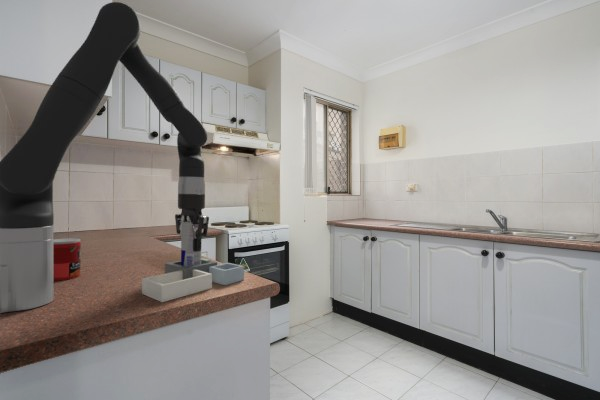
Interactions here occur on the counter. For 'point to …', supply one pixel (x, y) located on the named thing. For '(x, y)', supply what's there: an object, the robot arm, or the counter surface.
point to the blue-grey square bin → (227, 273)
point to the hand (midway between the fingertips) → (191, 249)
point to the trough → (175, 285)
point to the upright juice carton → (188, 246)
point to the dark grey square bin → (189, 270)
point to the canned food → (66, 258)
